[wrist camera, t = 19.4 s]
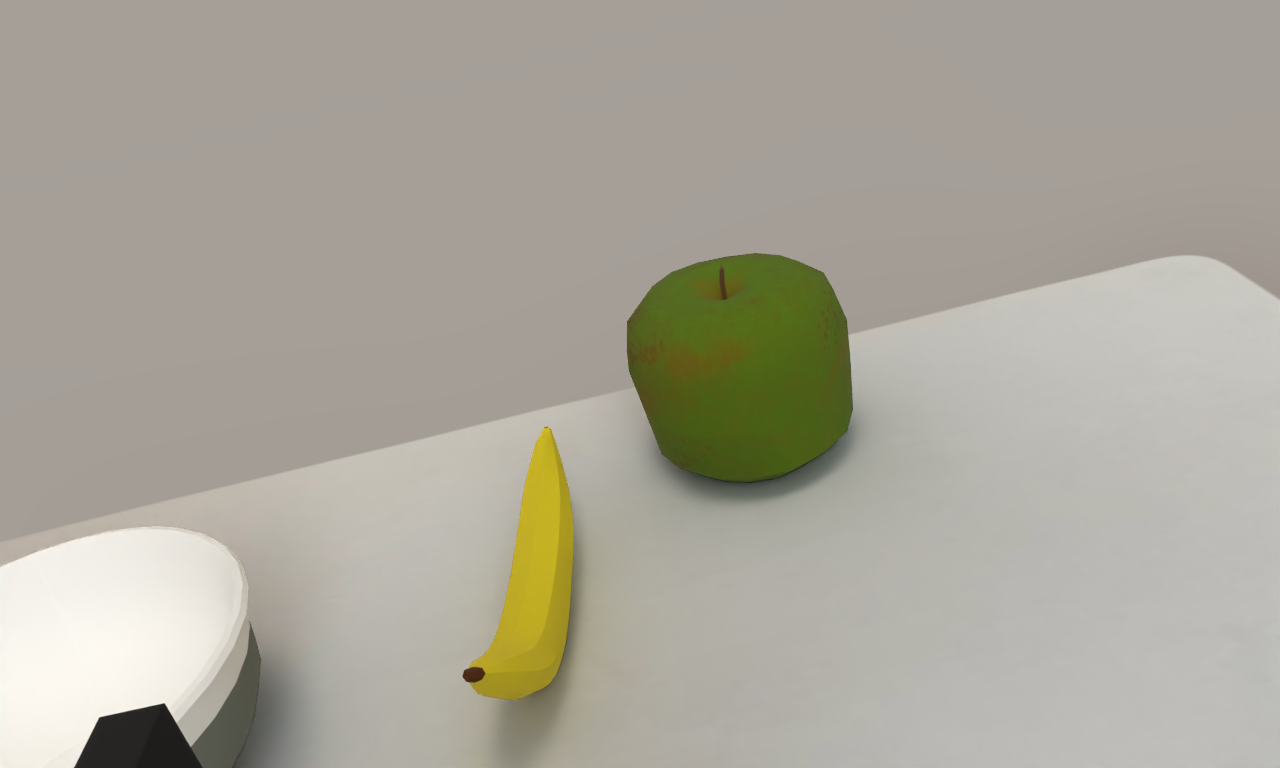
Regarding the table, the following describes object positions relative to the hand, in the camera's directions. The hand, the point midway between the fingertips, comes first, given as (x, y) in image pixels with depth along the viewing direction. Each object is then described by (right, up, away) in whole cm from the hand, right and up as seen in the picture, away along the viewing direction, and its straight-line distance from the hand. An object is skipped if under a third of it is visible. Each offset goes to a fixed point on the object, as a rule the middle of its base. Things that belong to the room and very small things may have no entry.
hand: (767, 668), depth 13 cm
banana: (-6, -8, +39) cm, 41 cm away
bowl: (-24, -15, +35) cm, 45 cm away
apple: (+5, 0, +48) cm, 49 cm away
